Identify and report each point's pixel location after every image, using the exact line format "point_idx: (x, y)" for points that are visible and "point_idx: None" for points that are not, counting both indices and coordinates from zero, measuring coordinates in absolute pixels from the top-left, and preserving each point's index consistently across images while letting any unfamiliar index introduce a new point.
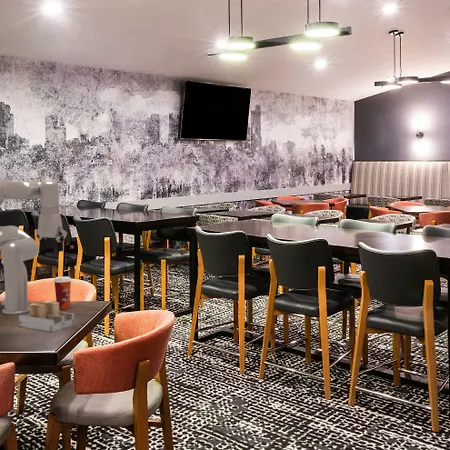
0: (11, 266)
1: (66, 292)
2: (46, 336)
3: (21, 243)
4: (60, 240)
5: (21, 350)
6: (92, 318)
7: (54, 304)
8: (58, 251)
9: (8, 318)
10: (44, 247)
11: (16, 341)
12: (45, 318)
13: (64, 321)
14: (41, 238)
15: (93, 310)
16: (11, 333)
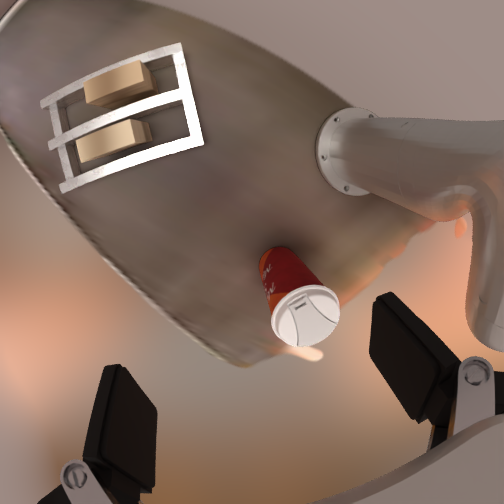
0: (456, 128)
1: (267, 292)
2: (39, 79)
3: None
4: (70, 486)
5: (14, 14)
6: (103, 258)
7: (77, 140)
8: (109, 371)
9: (302, 83)
10: (381, 351)
11: (65, 11)
12: (105, 107)
13: (62, 152)
14: (455, 410)
15: (184, 307)
16: (134, 14)
